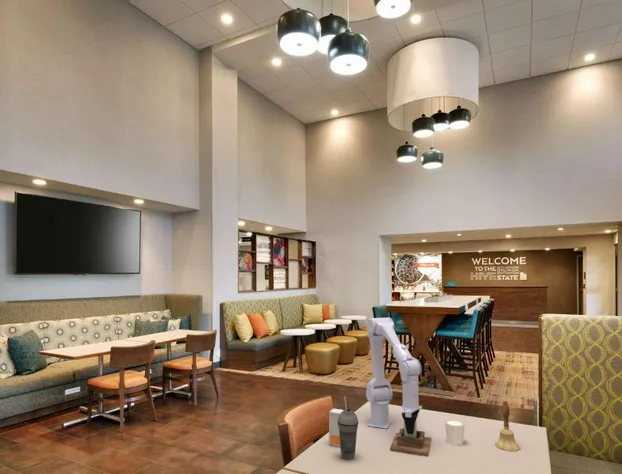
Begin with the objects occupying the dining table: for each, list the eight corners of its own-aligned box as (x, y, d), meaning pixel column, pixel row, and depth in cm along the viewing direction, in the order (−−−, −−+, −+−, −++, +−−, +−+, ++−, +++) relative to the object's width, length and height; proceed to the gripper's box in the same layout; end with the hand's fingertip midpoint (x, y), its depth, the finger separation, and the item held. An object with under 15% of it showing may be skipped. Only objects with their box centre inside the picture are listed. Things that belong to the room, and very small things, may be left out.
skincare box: (328, 445, 153) (328, 411, 154) (333, 441, 157) (333, 408, 158) (343, 448, 150) (343, 413, 151) (348, 444, 154) (348, 410, 155)
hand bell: (495, 449, 150) (494, 403, 152) (494, 440, 158) (492, 397, 159) (521, 452, 147) (519, 406, 149) (518, 444, 155) (517, 399, 157)
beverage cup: (352, 463, 138) (352, 401, 140) (333, 458, 142) (333, 397, 143) (362, 455, 144) (362, 395, 146) (343, 450, 148) (343, 392, 150)
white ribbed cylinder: (442, 442, 156) (441, 423, 157) (450, 437, 161) (449, 418, 162) (460, 447, 151) (459, 427, 152) (467, 442, 156) (467, 422, 157)
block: (405, 434, 156) (405, 417, 156) (416, 436, 155) (416, 419, 155) (404, 438, 152) (404, 421, 153) (415, 440, 151) (415, 422, 151)
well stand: (396, 435, 162) (396, 424, 163) (431, 440, 158) (431, 429, 158) (389, 450, 148) (389, 438, 149) (427, 456, 144) (427, 444, 144)
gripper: (419, 400, 146) (420, 440, 145) (423, 389, 160) (424, 426, 159) (399, 397, 149) (399, 437, 148) (404, 387, 162) (405, 423, 161)
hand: (410, 431), depth 153 cm, fingers closed on block, 4 cm apart
